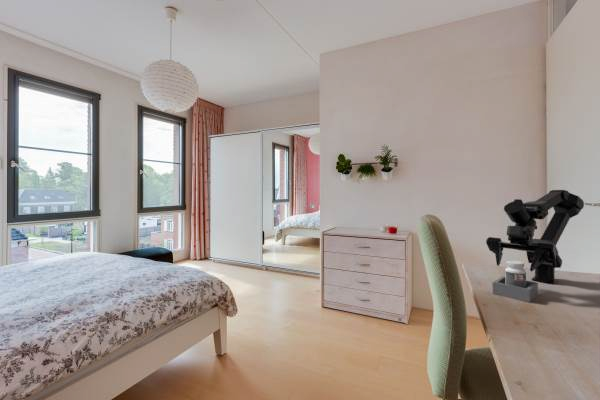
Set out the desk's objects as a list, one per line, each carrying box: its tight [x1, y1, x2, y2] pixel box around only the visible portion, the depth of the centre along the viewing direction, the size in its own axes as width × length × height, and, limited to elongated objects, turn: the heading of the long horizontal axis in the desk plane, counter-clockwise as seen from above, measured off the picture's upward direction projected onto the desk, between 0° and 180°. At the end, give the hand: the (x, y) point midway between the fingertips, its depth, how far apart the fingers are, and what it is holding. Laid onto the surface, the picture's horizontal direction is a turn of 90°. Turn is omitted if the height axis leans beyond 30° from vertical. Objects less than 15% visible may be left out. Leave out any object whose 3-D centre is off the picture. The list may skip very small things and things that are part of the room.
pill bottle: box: [504, 260, 527, 288], centre depth 95 cm, size 6×6×10 cm
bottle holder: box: [492, 275, 539, 303], centre depth 95 cm, size 10×10×4 cm
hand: (513, 267), depth 94 cm, fingers open, 9 cm apart
